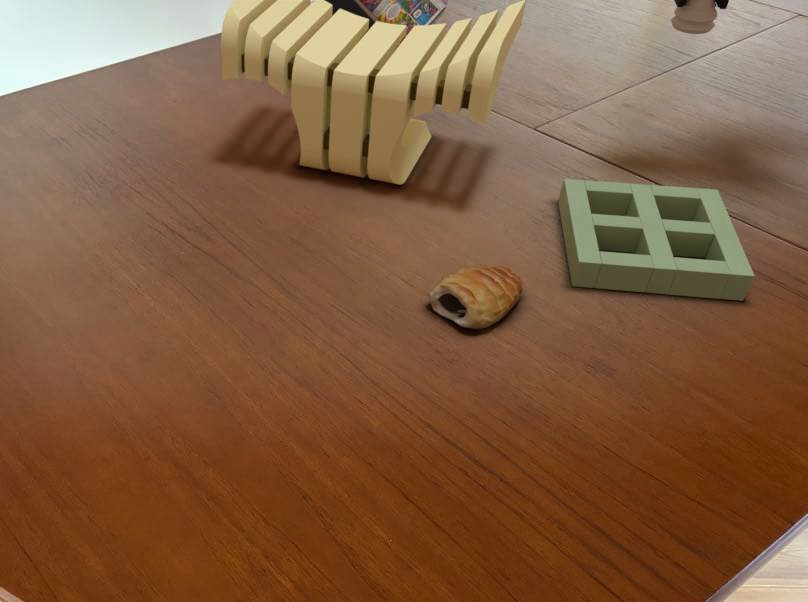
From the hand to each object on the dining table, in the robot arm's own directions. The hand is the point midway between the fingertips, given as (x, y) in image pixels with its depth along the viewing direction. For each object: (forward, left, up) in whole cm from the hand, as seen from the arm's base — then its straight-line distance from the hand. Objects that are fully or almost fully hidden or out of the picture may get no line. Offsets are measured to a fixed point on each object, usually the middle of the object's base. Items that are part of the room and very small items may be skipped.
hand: (699, 1), depth 91 cm
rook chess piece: (0, 0, -3) cm, 3 cm away
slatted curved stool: (+34, +2, -19) cm, 39 cm away
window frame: (+3, +18, -19) cm, 27 cm away
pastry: (+21, +31, -19) cm, 42 cm away
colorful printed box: (+34, -26, -19) cm, 47 cm away
